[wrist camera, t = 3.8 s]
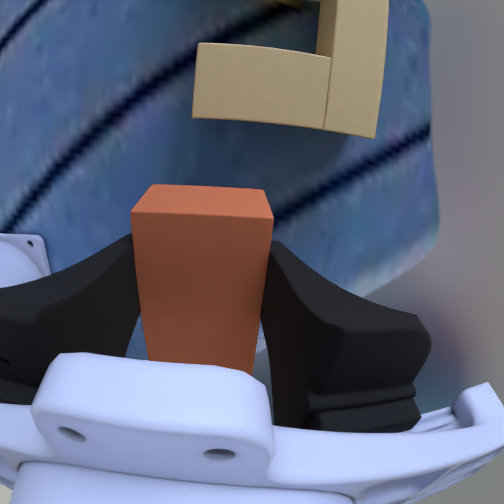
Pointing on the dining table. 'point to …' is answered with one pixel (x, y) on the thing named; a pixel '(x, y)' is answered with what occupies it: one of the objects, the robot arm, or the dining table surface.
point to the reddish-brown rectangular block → (201, 272)
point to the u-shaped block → (302, 75)
